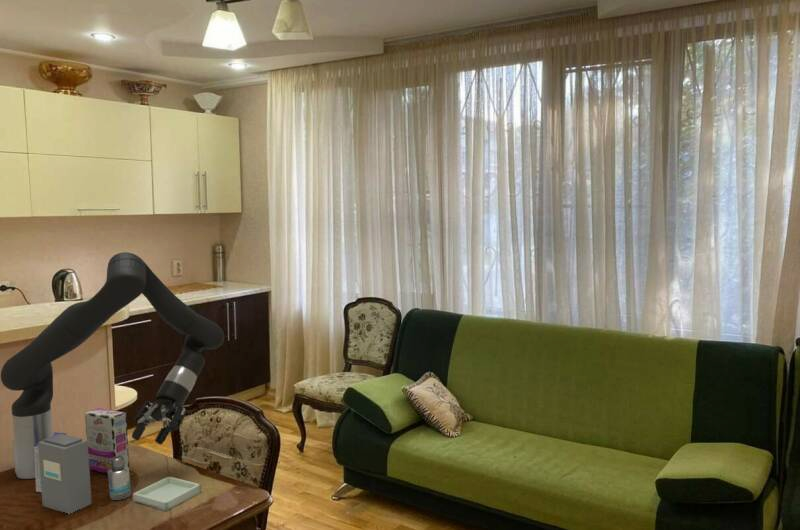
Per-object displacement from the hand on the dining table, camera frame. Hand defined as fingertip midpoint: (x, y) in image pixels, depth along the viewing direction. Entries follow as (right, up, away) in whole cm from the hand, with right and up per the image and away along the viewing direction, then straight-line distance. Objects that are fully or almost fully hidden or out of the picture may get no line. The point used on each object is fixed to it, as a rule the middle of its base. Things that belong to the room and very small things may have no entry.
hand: (146, 440), depth 168 cm
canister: (-4, -12, -5) cm, 14 cm away
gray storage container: (-16, -13, -10) cm, 22 cm away
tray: (+8, -12, -6) cm, 16 cm away
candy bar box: (-15, -11, +11) cm, 22 cm away
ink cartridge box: (-22, -13, -1) cm, 25 cm away
